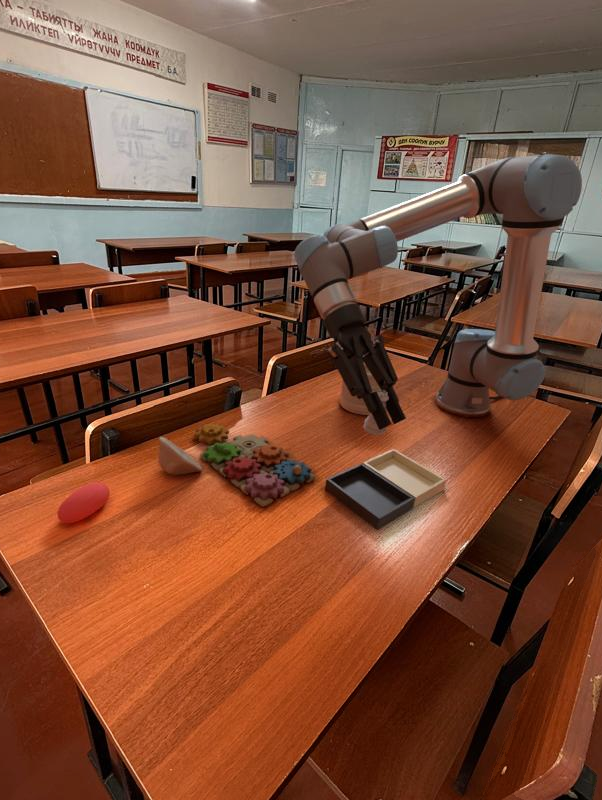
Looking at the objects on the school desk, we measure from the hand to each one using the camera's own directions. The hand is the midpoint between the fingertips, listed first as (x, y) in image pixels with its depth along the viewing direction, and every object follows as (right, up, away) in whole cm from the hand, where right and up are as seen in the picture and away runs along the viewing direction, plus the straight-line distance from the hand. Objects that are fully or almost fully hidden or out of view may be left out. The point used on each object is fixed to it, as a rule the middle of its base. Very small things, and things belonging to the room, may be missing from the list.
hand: (392, 424), depth 79 cm
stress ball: (-54, -15, -3) cm, 56 cm away
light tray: (+4, -13, +13) cm, 19 cm away
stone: (-42, -10, +11) cm, 44 cm away
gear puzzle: (-29, -9, +16) cm, 34 cm away
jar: (0, +2, +45) cm, 45 cm away
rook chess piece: (-3, -2, +4) cm, 5 cm away
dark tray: (-4, -15, +7) cm, 17 cm away
